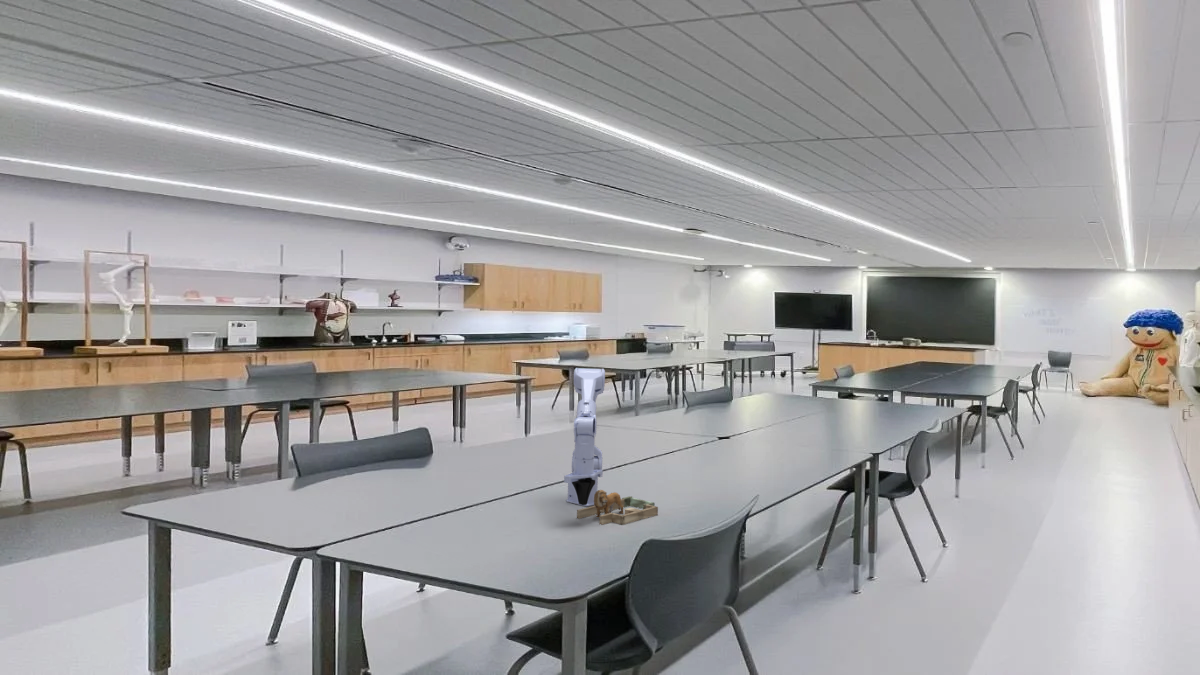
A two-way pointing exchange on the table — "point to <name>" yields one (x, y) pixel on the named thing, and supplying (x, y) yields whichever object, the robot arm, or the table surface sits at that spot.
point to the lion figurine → (606, 501)
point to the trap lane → (630, 513)
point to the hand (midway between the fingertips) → (582, 504)
